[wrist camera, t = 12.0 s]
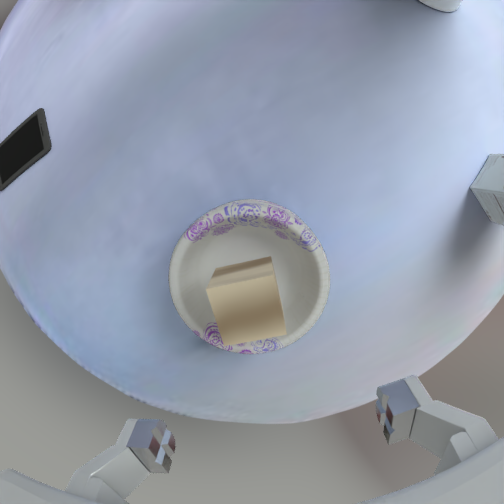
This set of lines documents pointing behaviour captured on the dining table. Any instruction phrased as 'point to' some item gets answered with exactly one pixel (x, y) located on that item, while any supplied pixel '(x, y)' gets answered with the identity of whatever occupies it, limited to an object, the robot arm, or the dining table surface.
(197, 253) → the paper bowls
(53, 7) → the dining table surface
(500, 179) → the supplement box
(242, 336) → the maple block
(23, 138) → the cell phone
